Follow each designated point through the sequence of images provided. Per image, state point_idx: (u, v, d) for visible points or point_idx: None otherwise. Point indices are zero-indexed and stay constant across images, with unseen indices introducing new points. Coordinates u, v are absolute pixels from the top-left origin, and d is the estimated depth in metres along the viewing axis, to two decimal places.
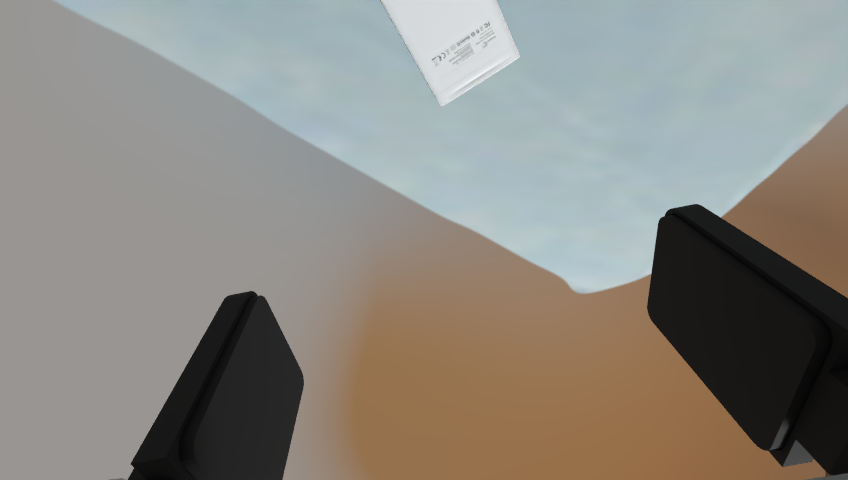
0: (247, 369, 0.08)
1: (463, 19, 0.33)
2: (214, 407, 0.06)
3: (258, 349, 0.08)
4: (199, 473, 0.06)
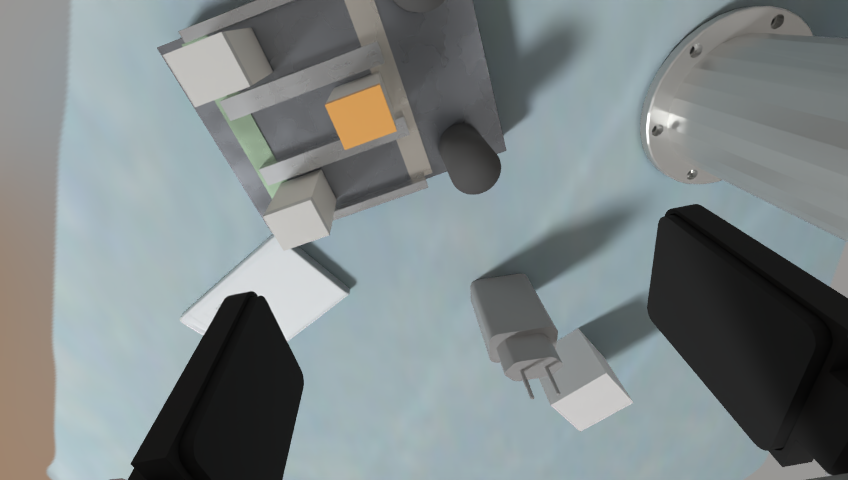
0: (247, 369, 0.08)
1: None
2: (214, 407, 0.06)
3: (258, 349, 0.08)
4: (199, 473, 0.06)
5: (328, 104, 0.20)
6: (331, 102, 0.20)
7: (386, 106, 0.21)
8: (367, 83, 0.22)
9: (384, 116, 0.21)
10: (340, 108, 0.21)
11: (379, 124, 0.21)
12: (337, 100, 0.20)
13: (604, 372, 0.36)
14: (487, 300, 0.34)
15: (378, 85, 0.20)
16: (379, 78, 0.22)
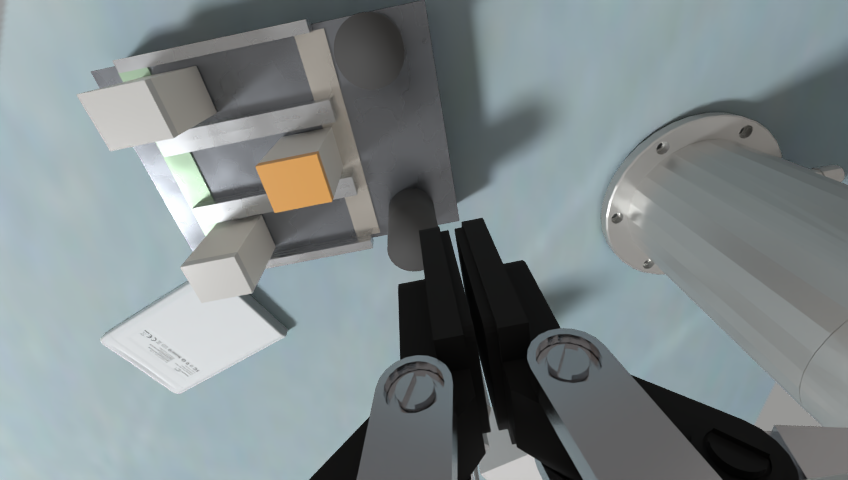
0: None
1: (193, 352, 0.33)
2: None
3: None
4: (474, 356, 0.07)
5: (259, 166, 0.19)
6: (263, 164, 0.19)
7: (322, 176, 0.19)
8: (309, 145, 0.20)
9: (319, 185, 0.20)
10: (272, 172, 0.19)
11: (313, 192, 0.20)
12: (269, 163, 0.19)
13: None
14: None
15: (315, 154, 0.19)
16: (323, 141, 0.21)
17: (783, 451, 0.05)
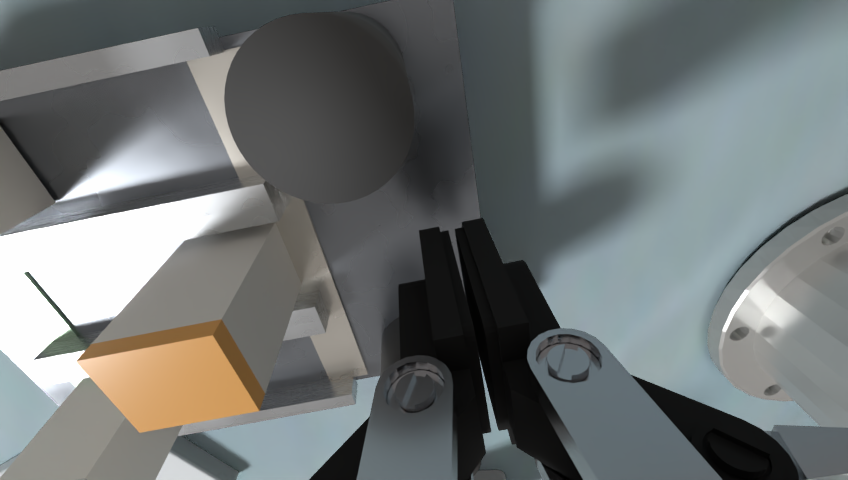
0: None
1: None
2: None
3: None
4: (474, 356, 0.07)
5: (86, 359, 0.08)
6: (96, 353, 0.09)
7: (232, 372, 0.09)
8: (214, 287, 0.10)
9: (228, 387, 0.09)
10: (117, 369, 0.09)
11: (217, 399, 0.09)
12: (109, 353, 0.08)
13: None
14: None
15: (211, 334, 0.08)
16: (244, 278, 0.10)
17: (783, 451, 0.05)
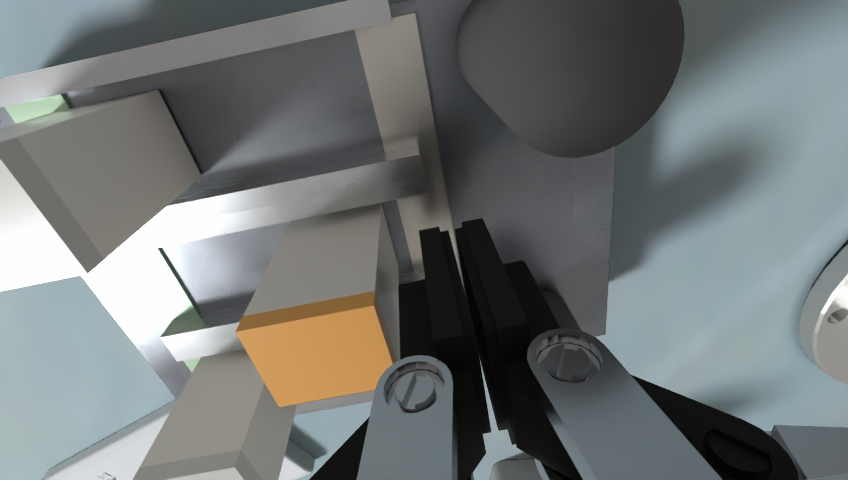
0: None
1: None
2: None
3: None
4: (474, 356, 0.07)
5: (244, 330, 0.08)
6: (253, 324, 0.09)
7: (383, 344, 0.09)
8: (349, 262, 0.10)
9: (376, 360, 0.09)
10: (273, 340, 0.09)
11: (362, 372, 0.09)
12: (267, 324, 0.08)
13: None
14: None
15: (370, 304, 0.08)
16: (377, 253, 0.10)
17: (783, 451, 0.05)
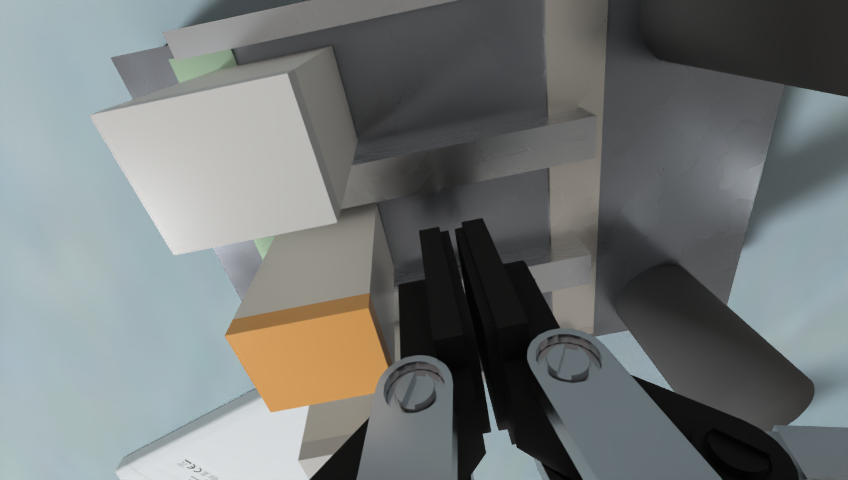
0: None
1: None
2: (467, 307, 0.07)
3: None
4: (475, 356, 0.07)
5: (235, 334, 0.08)
6: (243, 328, 0.08)
7: (378, 347, 0.09)
8: (343, 263, 0.10)
9: (370, 363, 0.09)
10: (264, 344, 0.08)
11: (356, 376, 0.09)
12: (258, 327, 0.08)
13: None
14: None
15: (365, 307, 0.08)
16: (372, 254, 0.10)
17: (783, 451, 0.05)
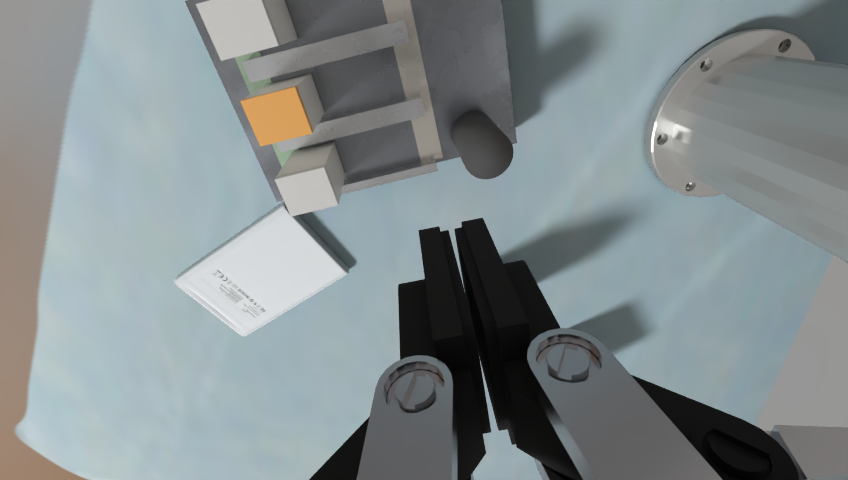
0: None
1: (261, 291, 0.35)
2: None
3: None
4: (474, 356, 0.07)
5: (243, 100, 0.21)
6: (247, 99, 0.21)
7: (301, 108, 0.21)
8: (289, 84, 0.22)
9: (299, 118, 0.22)
10: (255, 105, 0.21)
11: (294, 125, 0.22)
12: (253, 97, 0.21)
13: None
14: None
15: (293, 87, 0.21)
16: (302, 80, 0.23)
17: (782, 451, 0.05)
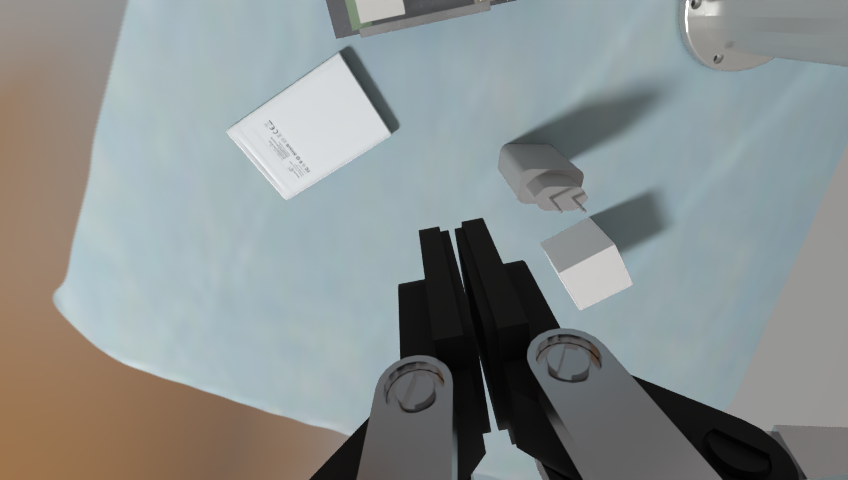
0: None
1: (308, 148, 0.37)
2: None
3: None
4: (474, 356, 0.07)
5: None
6: None
7: None
8: None
9: None
10: None
11: None
12: None
13: (613, 244, 0.39)
14: (519, 153, 0.36)
15: None
16: None
17: (783, 451, 0.05)
